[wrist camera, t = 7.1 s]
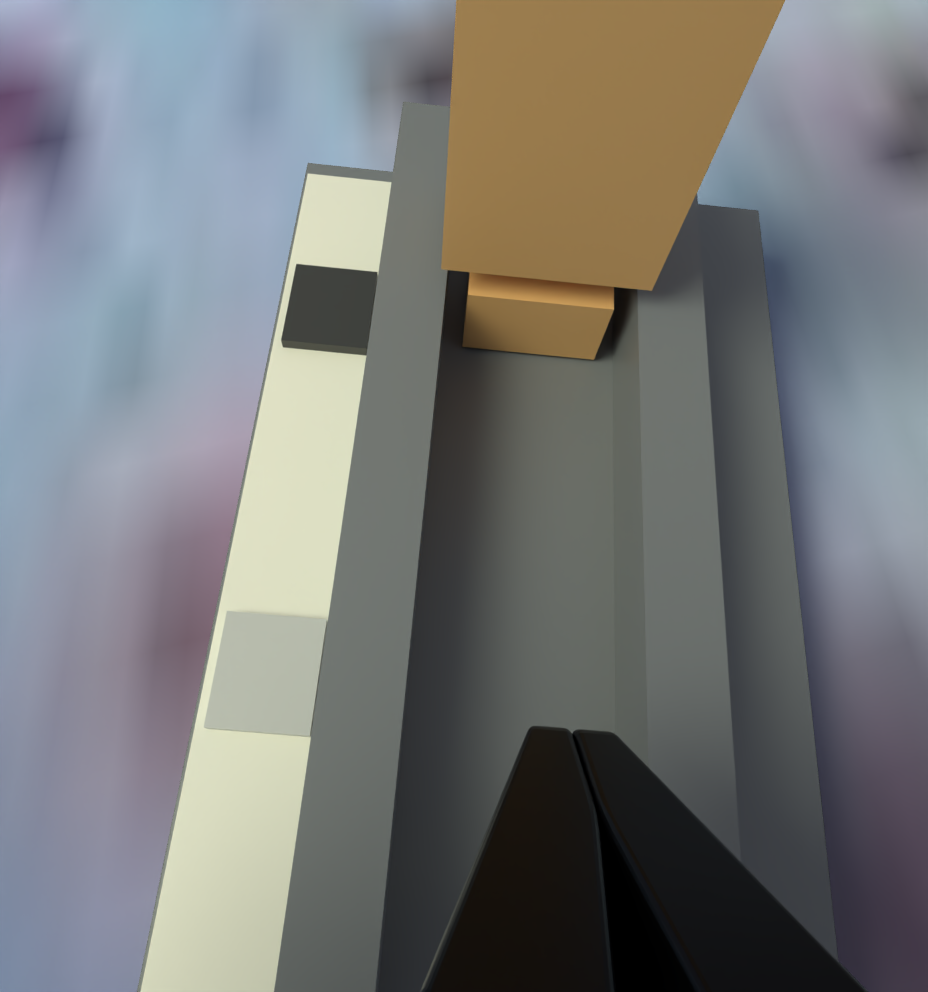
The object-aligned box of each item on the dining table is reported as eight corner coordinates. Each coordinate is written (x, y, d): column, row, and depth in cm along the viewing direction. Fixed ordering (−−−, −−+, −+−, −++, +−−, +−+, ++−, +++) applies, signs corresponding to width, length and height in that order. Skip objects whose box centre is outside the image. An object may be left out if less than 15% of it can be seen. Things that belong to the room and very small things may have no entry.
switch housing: (801, 1061, 12) (934, 1144, 9) (160, 1017, 12) (72, 1086, 9) (731, 256, 18) (795, 144, 15) (315, 213, 18) (296, 90, 15)
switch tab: (619, 362, 15) (1112, -714, 4) (436, 343, 15) (502, -805, 4) (617, 265, 16) (1023, -808, 5) (446, 247, 16) (520, -886, 5)
